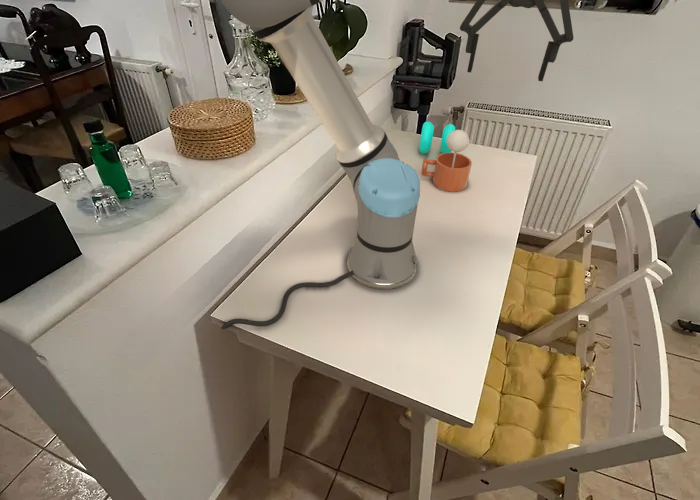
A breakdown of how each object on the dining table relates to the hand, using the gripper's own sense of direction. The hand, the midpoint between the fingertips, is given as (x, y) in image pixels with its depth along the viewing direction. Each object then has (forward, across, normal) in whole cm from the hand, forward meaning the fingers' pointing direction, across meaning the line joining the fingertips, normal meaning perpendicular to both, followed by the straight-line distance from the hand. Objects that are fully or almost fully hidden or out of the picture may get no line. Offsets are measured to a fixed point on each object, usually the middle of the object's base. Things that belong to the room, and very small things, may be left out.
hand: (504, 74), depth 85 cm
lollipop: (+36, +7, -19) cm, 41 cm away
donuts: (+37, +14, -36) cm, 53 cm away
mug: (+37, +9, -19) cm, 42 cm away
